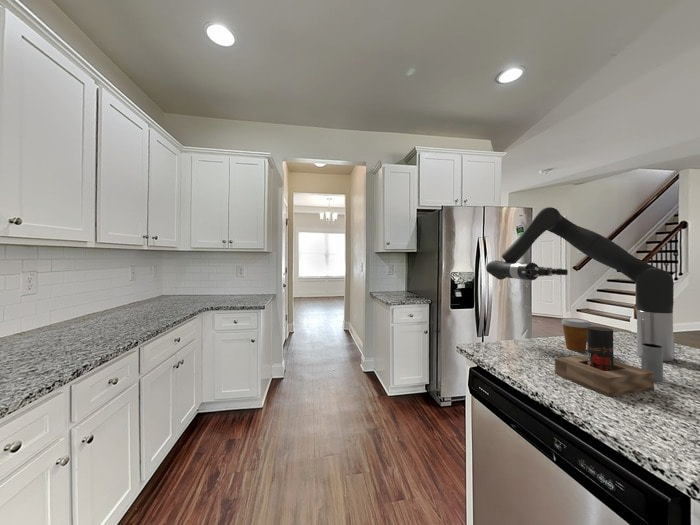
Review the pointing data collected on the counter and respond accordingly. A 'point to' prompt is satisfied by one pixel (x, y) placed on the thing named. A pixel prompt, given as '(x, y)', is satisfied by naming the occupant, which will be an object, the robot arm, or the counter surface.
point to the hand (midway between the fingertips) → (557, 272)
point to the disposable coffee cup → (575, 333)
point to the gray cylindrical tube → (653, 360)
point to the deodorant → (600, 348)
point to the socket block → (605, 376)
